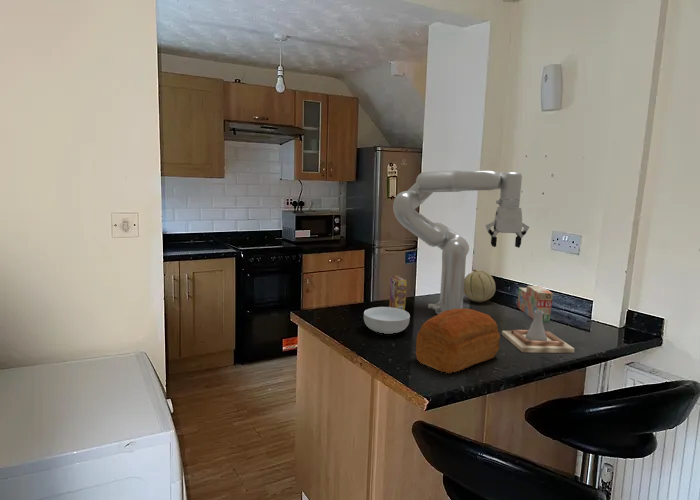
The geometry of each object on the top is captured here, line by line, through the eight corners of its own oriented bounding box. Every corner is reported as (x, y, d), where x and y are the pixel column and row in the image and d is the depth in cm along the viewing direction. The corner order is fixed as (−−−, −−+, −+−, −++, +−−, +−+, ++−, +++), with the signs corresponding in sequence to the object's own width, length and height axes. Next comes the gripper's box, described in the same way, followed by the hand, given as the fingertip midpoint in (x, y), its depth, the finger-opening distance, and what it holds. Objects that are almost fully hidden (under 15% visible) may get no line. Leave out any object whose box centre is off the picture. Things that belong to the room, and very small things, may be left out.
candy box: (405, 316, 197) (407, 280, 195) (395, 317, 196) (397, 280, 194) (398, 310, 206) (400, 275, 204) (388, 310, 205) (390, 275, 203)
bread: (503, 358, 156) (507, 310, 154) (451, 378, 139) (455, 325, 137) (461, 343, 168) (465, 299, 166) (409, 360, 151) (412, 311, 149)
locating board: (522, 352, 162) (522, 344, 161) (501, 334, 179) (502, 327, 179) (574, 352, 163) (574, 345, 163) (548, 335, 181) (549, 328, 180)
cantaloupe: (495, 307, 217) (497, 274, 215) (461, 304, 221) (464, 271, 218) (493, 299, 232) (495, 268, 229) (461, 296, 235) (464, 266, 233)
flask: (546, 337, 173) (549, 310, 172) (547, 343, 167) (550, 315, 165) (524, 334, 176) (527, 307, 174) (525, 340, 169) (528, 313, 167)
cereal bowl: (353, 330, 178) (354, 312, 176) (382, 321, 190) (383, 304, 189) (390, 342, 166) (391, 323, 165) (418, 332, 178) (419, 313, 177)
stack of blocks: (516, 307, 219) (519, 280, 217) (530, 307, 219) (532, 281, 217) (535, 321, 198) (538, 292, 196) (550, 321, 198) (553, 292, 196)
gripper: (491, 203, 186) (487, 247, 188) (534, 205, 187) (530, 248, 190) (484, 202, 193) (481, 244, 196) (526, 203, 194) (522, 245, 197)
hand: (505, 246), depth 193 cm, fingers open, 9 cm apart
